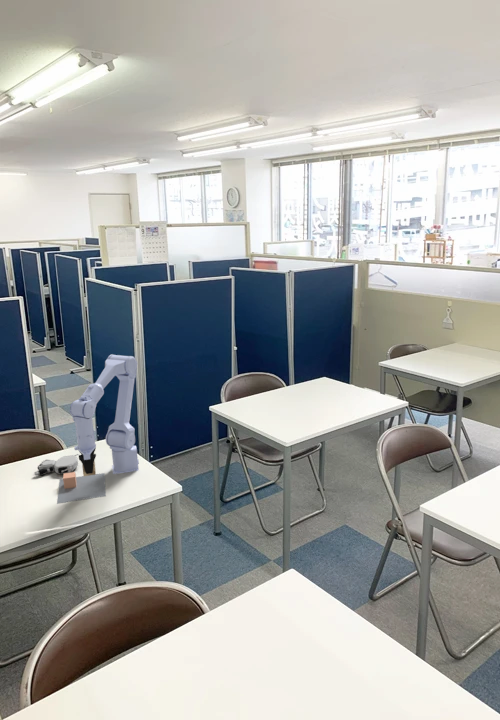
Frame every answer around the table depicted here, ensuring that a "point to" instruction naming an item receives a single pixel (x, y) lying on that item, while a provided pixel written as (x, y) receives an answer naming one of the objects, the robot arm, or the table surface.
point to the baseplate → (83, 488)
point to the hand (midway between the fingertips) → (89, 470)
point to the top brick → (90, 473)
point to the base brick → (69, 480)
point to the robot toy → (58, 465)
